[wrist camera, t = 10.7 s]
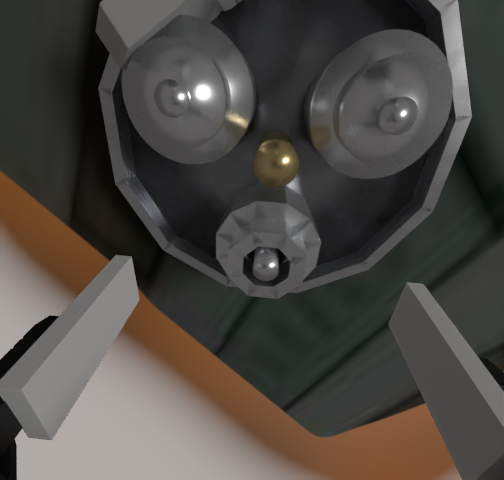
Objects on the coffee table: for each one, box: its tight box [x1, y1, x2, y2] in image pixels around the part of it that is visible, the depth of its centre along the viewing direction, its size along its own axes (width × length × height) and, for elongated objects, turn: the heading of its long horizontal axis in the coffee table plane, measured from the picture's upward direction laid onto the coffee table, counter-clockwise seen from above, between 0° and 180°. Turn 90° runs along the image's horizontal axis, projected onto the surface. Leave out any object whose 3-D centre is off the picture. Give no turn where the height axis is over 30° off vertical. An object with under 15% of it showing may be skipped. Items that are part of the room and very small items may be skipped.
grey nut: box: [216, 182, 321, 299], centre depth 19 cm, size 7×7×6 cm
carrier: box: [98, 0, 472, 293], centre depth 17 cm, size 22×22×8 cm
